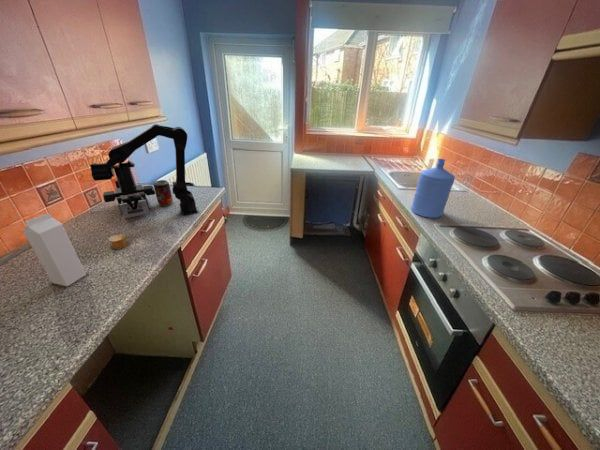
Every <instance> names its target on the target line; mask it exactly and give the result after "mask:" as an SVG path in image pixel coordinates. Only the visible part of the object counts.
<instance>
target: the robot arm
mask: <svg viewBox="0 0 600 450" xmlns="http://www.w3.org/2000/svg"><path fill="white" fill-rule="evenodd" d="M157 137H165V138H168V139H171V140H172V141H173V145H174V152H175V153H174V154H175V177H176V178H175V181H172V182H171V183H172V184H171V185H172V190H171V191H172V194H173V195H174V197H175V198H176V199H177V200H179V203H178V205H179V210H180V212H181V214H183V215H184V216H187V215H191V214H197V213H198V209H197V205H196V200H195V197H194V195H193V192H192V191H190V190H189V189H188V186H187V182H186V157H185V156H186V146H187V143H188V133H187V132H186V130H185V129H184V128H183V127H181V126H175V127H172V126H165V125H160V124H158V123H154V124H152V126H150V127H149V128H147V129H145V130H144V131H143V132H141V133H139V134H138V135H136V136H135V137H133V138H132V139H130V140H129V141H126V142H123V143H120V144H117V145H115V146H113V147H112V148H110V150H109V151H108V154H107V155H108V159H107V161H106V162H101V163H94V162H93V163H90V173H91V177H92V179H93V181H95V182H98V181H99V182H100V181H109V180H113V178H114V177H116V180H114V184H115V188H120V189H121V192H119V193H116V191H115V190H110V191H104V192H103V193H102V195H103V196H102V197H103V201H104V203H111V202H115V201H116V200H117V197H121V200H122V201H125V202H126V203H127V204H128V205H129V206H130V207H131V208H132V209H133V210H134V209H137V204H138V201H139V199H141V194H142V193H145V195H146V196H152V195H153V196H154V195H156V193H155V188H154V185H145V186H144V185H142V187H143V189H139V190H137V188H136V185H137V184H136V182H135V179H134V176H133V171H132V169H131V168H135V165H136V164H135V163H134V162H132V161H131V160H128V159H129V158H130V157H131V155H132V154H133V153H135V151H137V150H138V149H140V148H141V147H142V146H145V145H146V144H148V143H149V142H150V141H152V140H154V139H155V138H157ZM126 160H127V162H126ZM129 195H133V200H134V206H133V203H132V201H131V199H130V197H129ZM134 207H135V208H134Z"/></svg>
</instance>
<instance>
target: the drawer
mask: <svg viewBox="0 0 600 450" xmlns="http://www.w3.org/2000/svg"><path fill="white" fill-rule="evenodd" d="M130 199H131V201H132V203H133V206H134V200H133V197H132V198H130ZM147 202H148V201H147ZM147 202H146V200H144V199H143V196H141V199H139V201H138V204H137V209H134V210H133V209H132V208H131V207H130V206H129V205H128V204H127V203H126V202H125V201H122V200H121V204H118V206H119V205H120V207H119V209H120V208H121V210H120V212H121V211H122V213H121V215H122V214H123V215H122V217H123V219H128V218H134V217H139V216H144V215H149V214H150V210H149V209H150V208H149V209H148V206H149V205H148V206H147ZM134 208H135V207H134Z"/></svg>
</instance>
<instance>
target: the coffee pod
mask: <svg viewBox="0 0 600 450" xmlns="http://www.w3.org/2000/svg"><path fill="white" fill-rule="evenodd" d="M108 241H109V242H110V243H111V245H112V248H113V249H116V250H118V249H122V248H125V247H126V246H127V241H126V235H125V234H122V233H121V234H120V233H119V234H115V235H112V236H111V237H109V238H108Z"/></svg>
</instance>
